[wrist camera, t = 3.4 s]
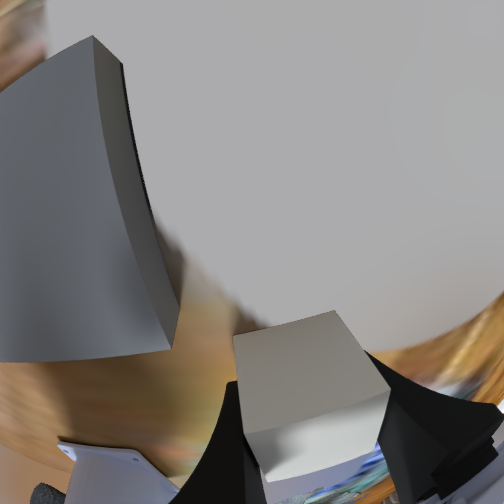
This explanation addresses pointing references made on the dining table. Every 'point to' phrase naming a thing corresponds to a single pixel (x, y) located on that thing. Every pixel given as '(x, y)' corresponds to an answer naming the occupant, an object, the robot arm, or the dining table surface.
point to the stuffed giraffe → (298, 500)
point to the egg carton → (392, 499)
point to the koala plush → (47, 495)
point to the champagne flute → (501, 406)
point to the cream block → (307, 395)
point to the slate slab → (77, 218)
